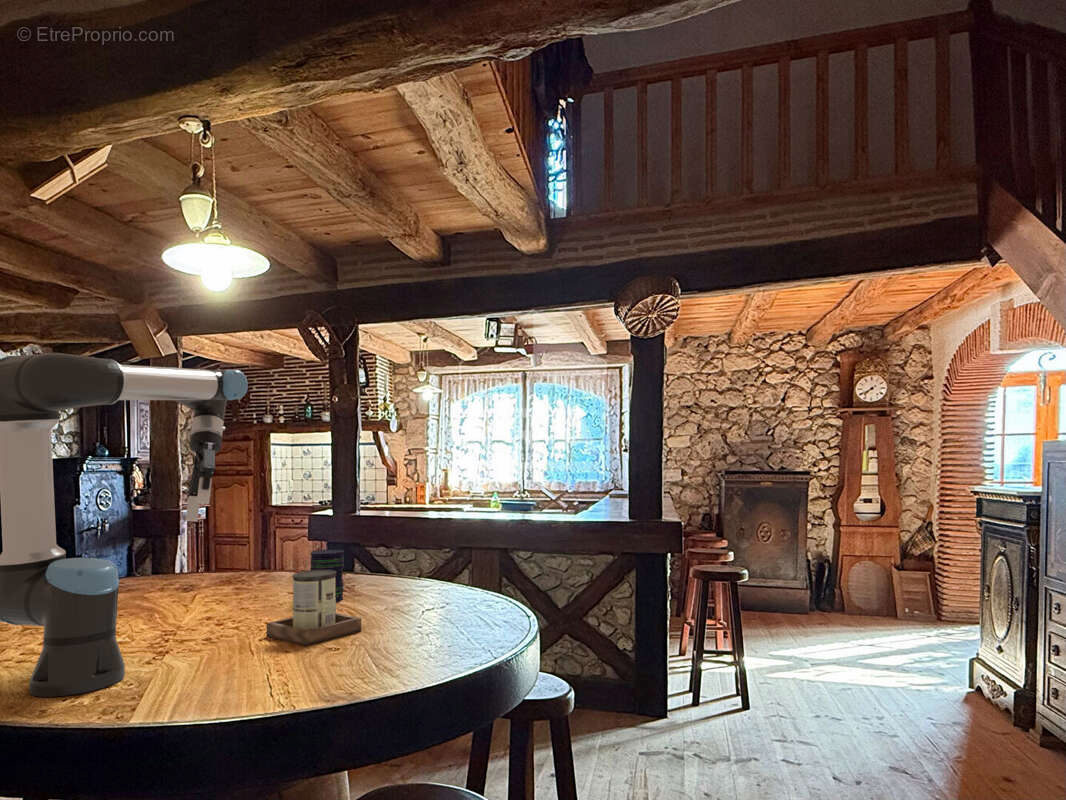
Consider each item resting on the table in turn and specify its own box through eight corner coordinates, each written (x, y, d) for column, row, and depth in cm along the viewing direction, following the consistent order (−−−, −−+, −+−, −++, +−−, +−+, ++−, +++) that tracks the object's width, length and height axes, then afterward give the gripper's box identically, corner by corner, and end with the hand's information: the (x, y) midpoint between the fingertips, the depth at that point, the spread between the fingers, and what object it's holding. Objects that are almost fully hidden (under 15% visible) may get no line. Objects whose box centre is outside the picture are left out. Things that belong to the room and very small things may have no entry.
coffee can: (299, 626, 165) (300, 570, 166) (340, 625, 165) (341, 569, 166) (285, 637, 154) (286, 577, 156) (329, 636, 155) (329, 576, 156)
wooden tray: (361, 631, 161) (361, 618, 162) (305, 646, 149) (305, 632, 149) (322, 622, 171) (322, 610, 171) (266, 636, 158) (266, 623, 158)
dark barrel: (315, 605, 192) (316, 554, 194) (305, 600, 200) (306, 551, 201) (348, 601, 198) (348, 551, 199) (337, 596, 206) (337, 548, 207)
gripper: (233, 418, 166) (225, 496, 156) (211, 455, 183) (202, 528, 174) (201, 413, 162) (190, 493, 152) (181, 452, 179) (171, 526, 169)
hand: (197, 512), depth 163 cm, fingers open, 13 cm apart
